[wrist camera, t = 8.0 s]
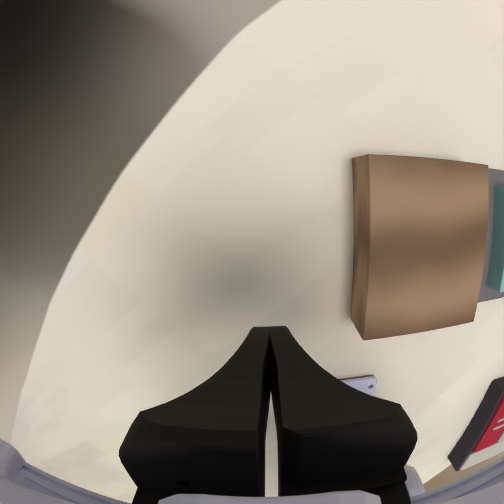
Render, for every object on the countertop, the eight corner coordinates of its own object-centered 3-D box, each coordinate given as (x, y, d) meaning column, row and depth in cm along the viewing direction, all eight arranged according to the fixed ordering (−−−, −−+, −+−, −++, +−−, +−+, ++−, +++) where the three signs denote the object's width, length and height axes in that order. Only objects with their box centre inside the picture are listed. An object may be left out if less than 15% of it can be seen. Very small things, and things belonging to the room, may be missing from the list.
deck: (452, 304, 21) (473, 321, 18) (350, 318, 22) (363, 340, 18) (461, 165, 18) (488, 165, 15) (351, 158, 19) (368, 154, 16)
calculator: (549, 375, 20) (504, 453, 22) (532, 362, 24) (493, 439, 27) (506, 394, 20) (456, 475, 23) (488, 376, 24) (446, 457, 27)
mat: (522, 291, 20) (524, 292, 20) (456, 304, 21) (458, 306, 21) (532, 176, 18) (535, 176, 17) (466, 165, 18) (468, 165, 18)
